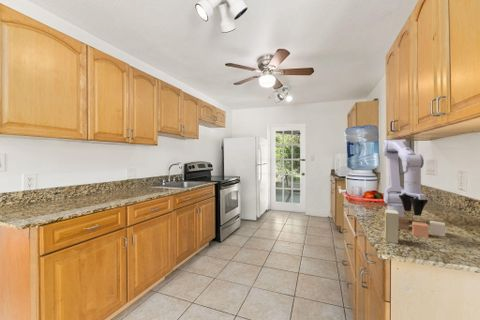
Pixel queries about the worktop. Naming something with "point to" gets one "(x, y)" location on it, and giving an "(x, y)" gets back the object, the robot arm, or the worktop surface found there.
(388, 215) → the skincare box
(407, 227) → the walnut cube
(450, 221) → the worktop surface
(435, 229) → the beige cube
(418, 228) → the terracotta cube
